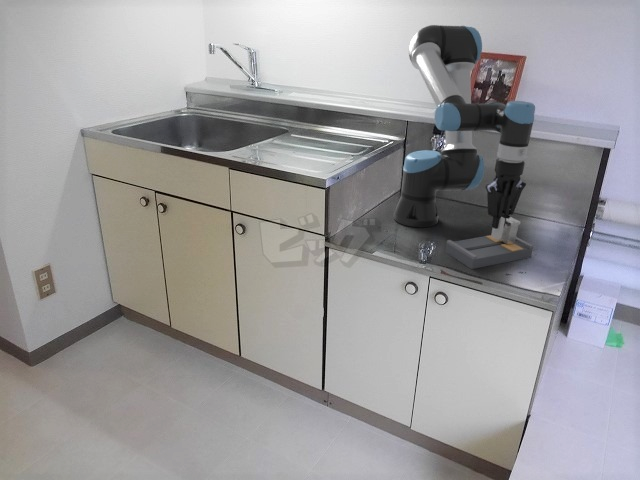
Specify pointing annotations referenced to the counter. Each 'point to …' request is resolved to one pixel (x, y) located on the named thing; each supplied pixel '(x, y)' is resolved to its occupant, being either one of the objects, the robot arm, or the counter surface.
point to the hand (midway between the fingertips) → (496, 237)
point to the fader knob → (510, 231)
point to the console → (487, 251)
